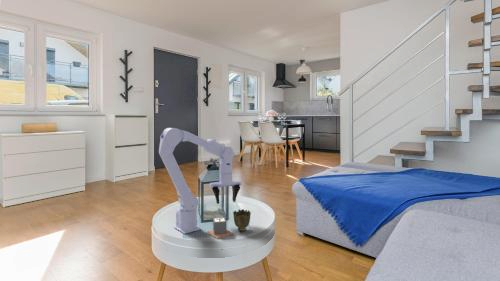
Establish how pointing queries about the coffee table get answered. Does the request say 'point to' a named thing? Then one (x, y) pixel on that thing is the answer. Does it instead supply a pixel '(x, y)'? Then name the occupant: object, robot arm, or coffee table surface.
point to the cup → (242, 219)
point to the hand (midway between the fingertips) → (226, 202)
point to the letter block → (219, 226)
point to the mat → (219, 234)
